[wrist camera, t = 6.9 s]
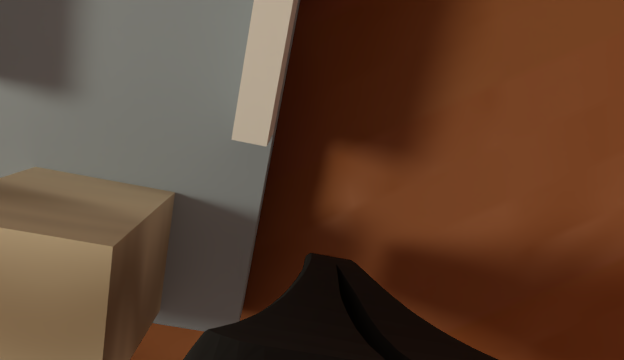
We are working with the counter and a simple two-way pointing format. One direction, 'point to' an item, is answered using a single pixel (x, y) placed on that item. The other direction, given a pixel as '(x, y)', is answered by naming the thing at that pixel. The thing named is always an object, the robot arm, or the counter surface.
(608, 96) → the counter surface
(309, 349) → the robot arm
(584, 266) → the counter surface
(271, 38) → the cubby
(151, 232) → the block
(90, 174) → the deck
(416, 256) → the counter surface
